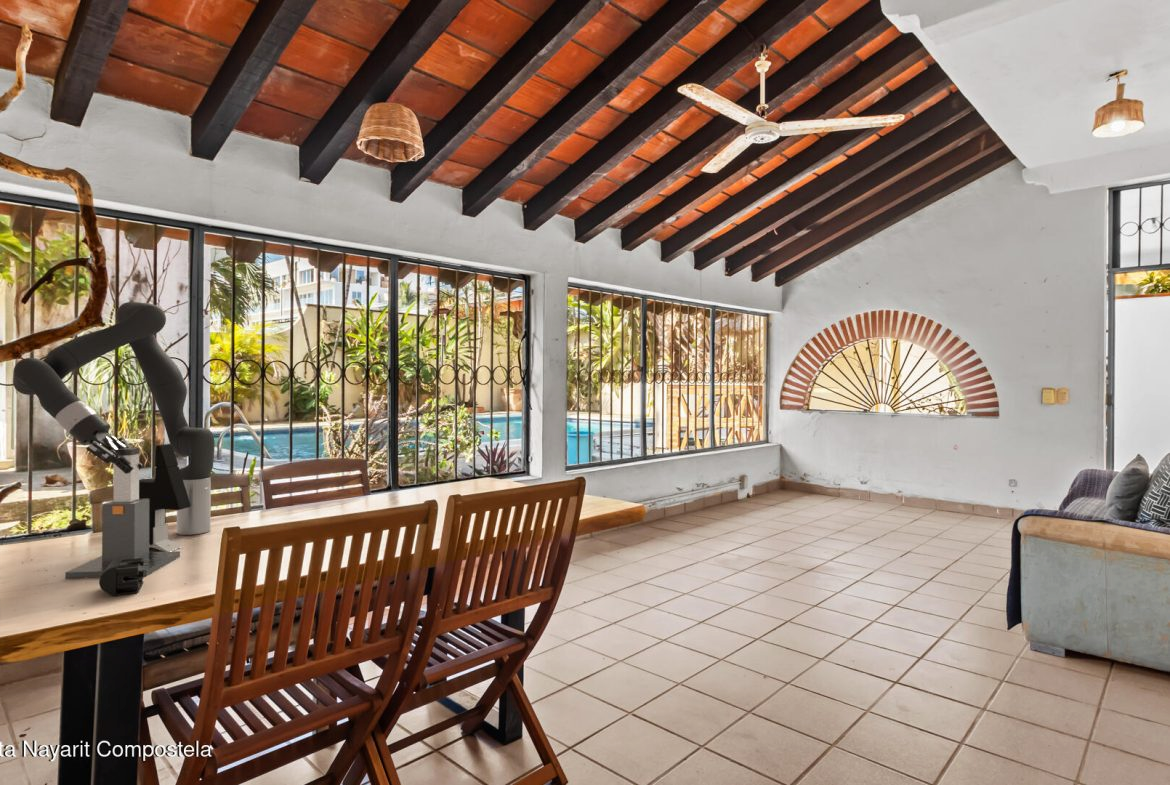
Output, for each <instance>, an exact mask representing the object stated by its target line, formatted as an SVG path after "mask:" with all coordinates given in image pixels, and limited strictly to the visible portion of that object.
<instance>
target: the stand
mask: <svg viewBox="0 0 1170 785" xmlns="http://www.w3.org/2000/svg"><path fill="white" fill-rule="evenodd" d="M101 506H102V507H101V510H102V511H101V512H102V513H101V515H102V516H101V524H102V525H101V527H102V528H101V529H102V531H101V533H102V534H101V547H102V548H101V556H98V557H96V558H94V559H91V560H89V561H88V562H86V563H83V564H81V565H78V566H77V567H73V568H72V569H70V570H67V571H66V572H65V573H64V574H65V576H64V577H65V578H69V579H86V578H85V577H101V575H102V574H103V572H104V571H105V570H106V568H107V567H108V566H109V564H110V563H111V562H112V561H113V560H115V559H117V558H119V557H124V560H126V559H137V558H144V565H143V566H140V567H139V569H138V571H143V570H144V577H147V575H148V576H149V575H151V574H153V573H155V572H156V571H158V570H159V568H160V567H161V568H163V567H165V566H166V564H167V565H168V564H170V563H172V562H174V561H175V560H177V559H179V558H181V551H178V550H175V551H172V552H164V551H150V548H149V499H139V501H136V502H133V503H114V500H111V501H109V502H108V501H107V502H105V503H102V505H101ZM178 557H179V558H178ZM176 558H177V559H176ZM173 560H174V561H173ZM171 561H172V562H171ZM164 565H165V566H164ZM162 566H163V567H162ZM161 568H160V569H161ZM157 569H158V570H157ZM155 570H156V571H155ZM154 571H155V572H154ZM152 572H153V573H152Z"/></svg>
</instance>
